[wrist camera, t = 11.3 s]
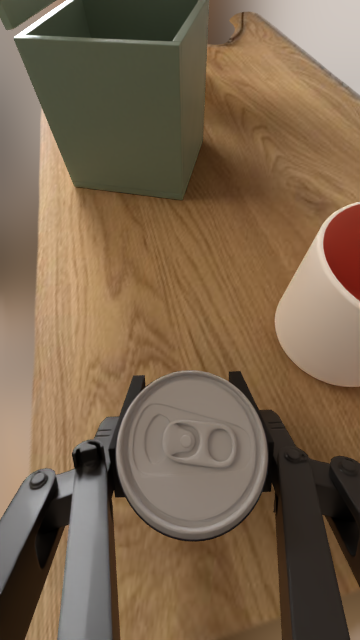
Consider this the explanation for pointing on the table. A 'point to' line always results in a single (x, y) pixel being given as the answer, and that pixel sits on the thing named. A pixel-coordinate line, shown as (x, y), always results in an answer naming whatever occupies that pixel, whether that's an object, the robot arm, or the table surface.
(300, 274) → the cup
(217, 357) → the table surface
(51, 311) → the table surface
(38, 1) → the lid
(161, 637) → the table surface
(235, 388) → the beverage can
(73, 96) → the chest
